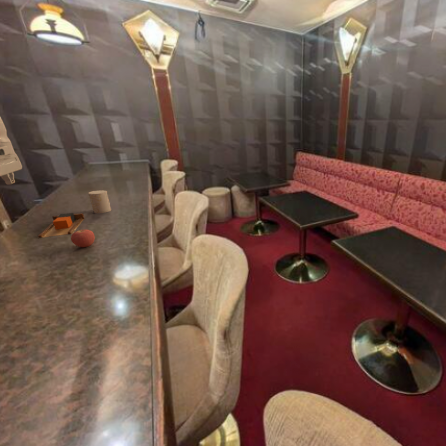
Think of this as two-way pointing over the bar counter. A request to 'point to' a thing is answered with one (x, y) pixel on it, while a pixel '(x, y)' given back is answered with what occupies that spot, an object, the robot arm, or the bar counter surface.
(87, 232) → the apple
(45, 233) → the jig
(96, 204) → the cup
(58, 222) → the orange block
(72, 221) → the black block
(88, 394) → the bar counter surface
